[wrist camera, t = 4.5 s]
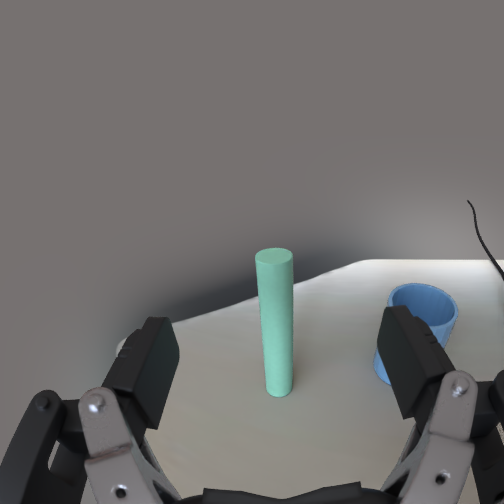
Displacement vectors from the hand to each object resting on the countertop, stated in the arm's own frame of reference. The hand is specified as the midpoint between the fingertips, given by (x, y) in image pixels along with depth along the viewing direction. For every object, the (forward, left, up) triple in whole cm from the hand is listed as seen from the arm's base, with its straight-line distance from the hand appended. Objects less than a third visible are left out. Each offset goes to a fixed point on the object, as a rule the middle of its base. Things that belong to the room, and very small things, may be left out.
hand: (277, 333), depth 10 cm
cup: (-20, -1, -18) cm, 27 cm away
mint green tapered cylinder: (-7, -9, -18) cm, 21 cm away
